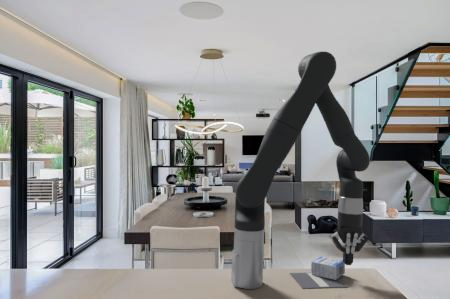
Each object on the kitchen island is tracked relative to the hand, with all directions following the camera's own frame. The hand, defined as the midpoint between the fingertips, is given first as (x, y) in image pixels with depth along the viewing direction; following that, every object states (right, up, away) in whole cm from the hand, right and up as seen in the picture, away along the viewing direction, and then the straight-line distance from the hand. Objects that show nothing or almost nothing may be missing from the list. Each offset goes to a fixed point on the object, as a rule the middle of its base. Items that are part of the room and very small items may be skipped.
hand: (347, 264), depth 113 cm
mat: (-10, -5, 0) cm, 11 cm away
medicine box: (-2, -3, +1) cm, 3 cm away
